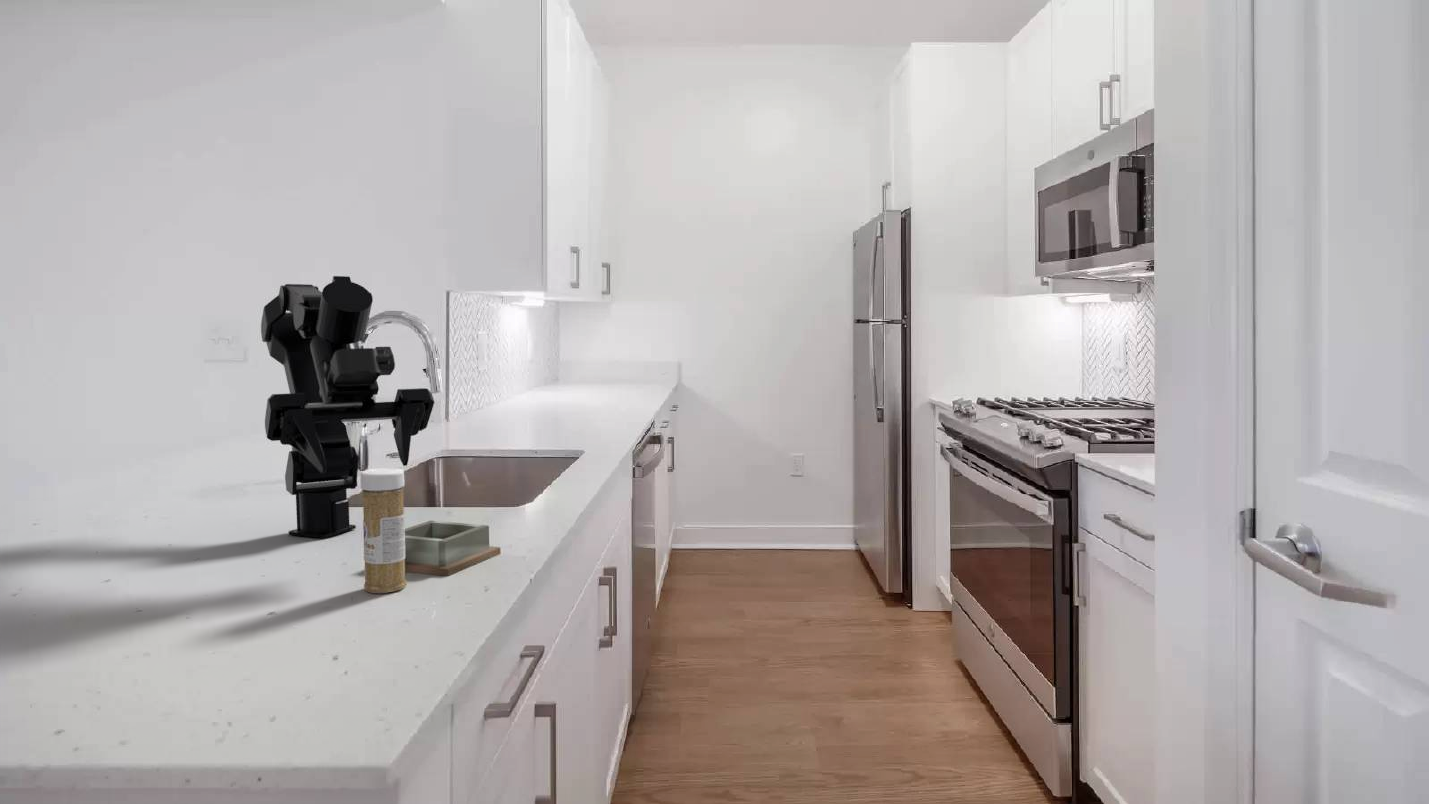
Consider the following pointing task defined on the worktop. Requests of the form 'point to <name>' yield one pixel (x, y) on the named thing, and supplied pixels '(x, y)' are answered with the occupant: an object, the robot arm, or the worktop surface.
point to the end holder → (446, 547)
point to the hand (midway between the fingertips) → (366, 467)
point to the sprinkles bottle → (383, 529)
